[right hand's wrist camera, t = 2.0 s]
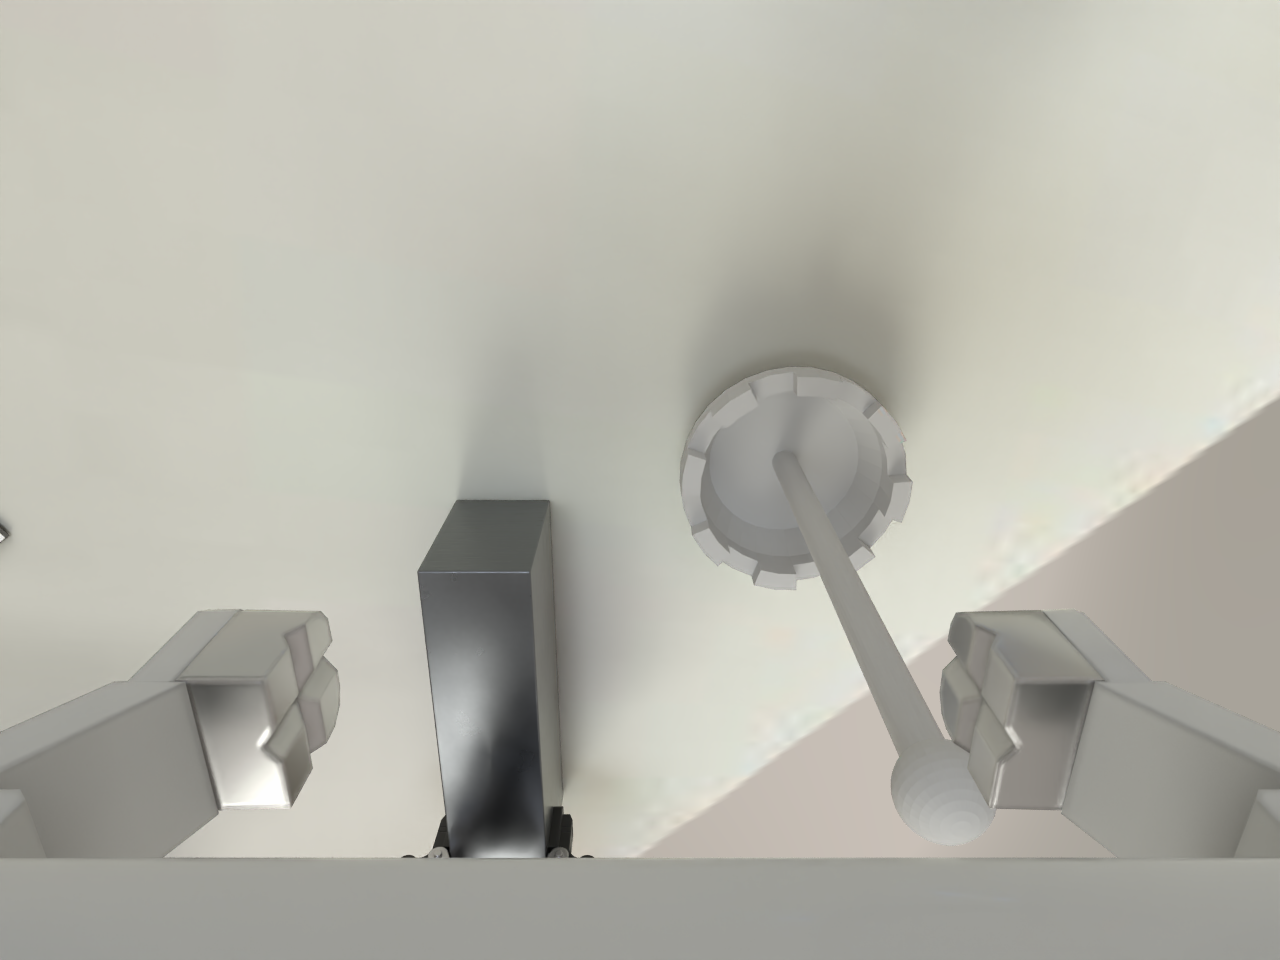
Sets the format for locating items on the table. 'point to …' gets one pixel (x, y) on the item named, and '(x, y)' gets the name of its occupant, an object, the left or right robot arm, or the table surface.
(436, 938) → the right robot arm
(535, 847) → the box
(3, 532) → the tablet
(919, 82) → the table surface
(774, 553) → the flag stand
